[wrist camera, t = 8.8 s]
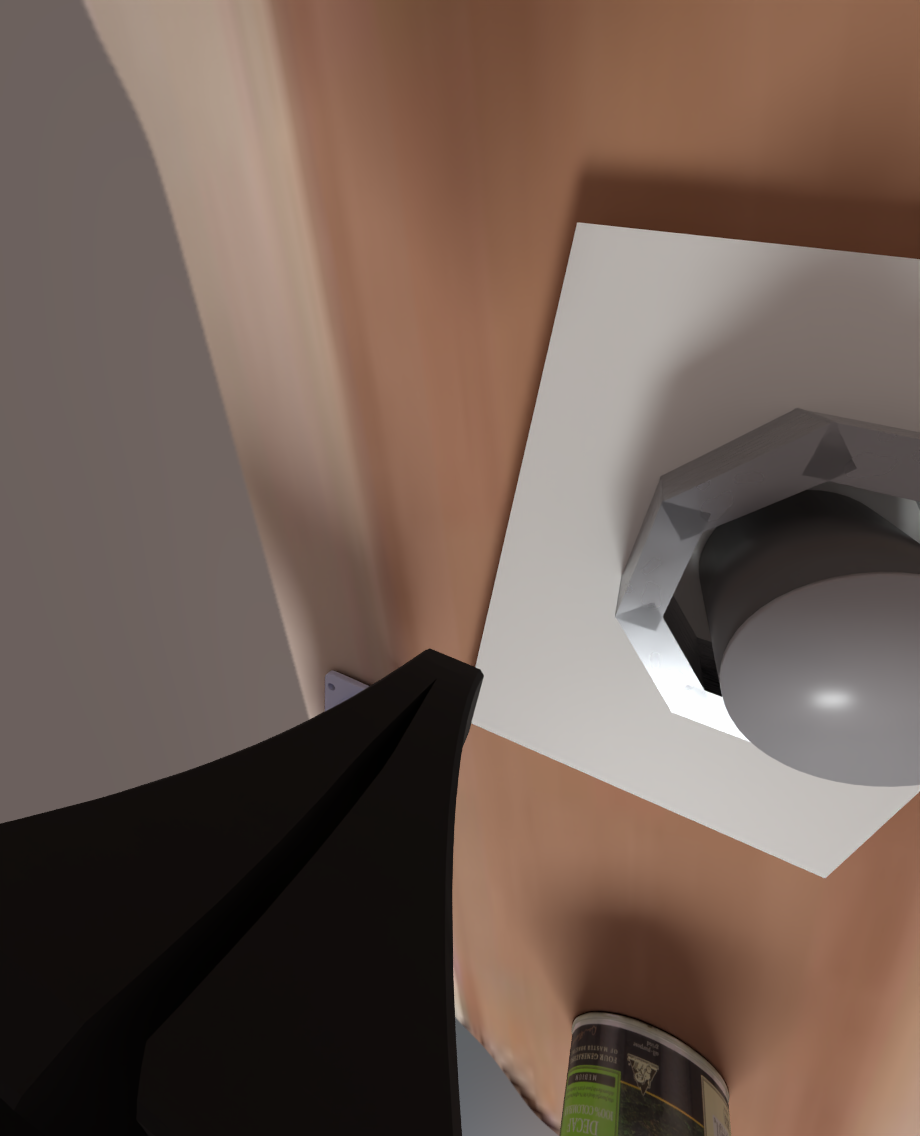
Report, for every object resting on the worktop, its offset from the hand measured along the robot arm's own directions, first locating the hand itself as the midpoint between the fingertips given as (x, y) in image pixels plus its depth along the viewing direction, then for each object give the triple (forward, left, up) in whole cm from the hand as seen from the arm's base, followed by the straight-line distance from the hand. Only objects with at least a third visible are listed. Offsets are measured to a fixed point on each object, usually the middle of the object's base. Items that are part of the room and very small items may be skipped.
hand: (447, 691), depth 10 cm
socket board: (0, -7, -10) cm, 12 cm away
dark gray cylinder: (+2, -8, -8) cm, 12 cm away
